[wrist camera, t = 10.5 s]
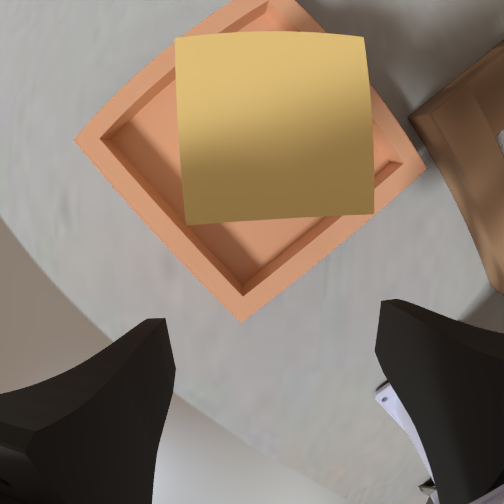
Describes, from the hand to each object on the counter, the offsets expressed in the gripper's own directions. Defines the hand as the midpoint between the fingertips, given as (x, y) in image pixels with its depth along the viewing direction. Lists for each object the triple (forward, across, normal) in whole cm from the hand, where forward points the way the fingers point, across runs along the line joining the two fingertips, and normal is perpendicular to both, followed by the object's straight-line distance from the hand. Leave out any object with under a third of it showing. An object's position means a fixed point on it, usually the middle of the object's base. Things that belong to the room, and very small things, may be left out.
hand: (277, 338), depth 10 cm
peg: (+6, 0, -6) cm, 9 cm away
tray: (+8, 0, -6) cm, 10 cm away
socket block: (+8, -18, -7) cm, 21 cm away
